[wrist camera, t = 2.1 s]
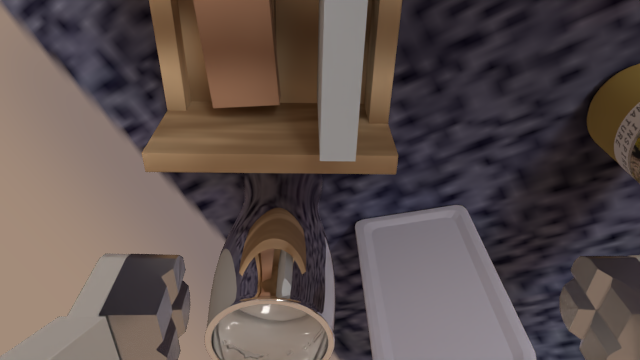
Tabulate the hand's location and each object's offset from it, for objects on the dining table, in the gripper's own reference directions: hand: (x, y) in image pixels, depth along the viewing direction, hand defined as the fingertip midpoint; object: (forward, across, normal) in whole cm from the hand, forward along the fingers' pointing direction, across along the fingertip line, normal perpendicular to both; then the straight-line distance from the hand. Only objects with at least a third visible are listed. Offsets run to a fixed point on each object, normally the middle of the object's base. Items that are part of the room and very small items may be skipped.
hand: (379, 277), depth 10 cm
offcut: (+20, +5, 0) cm, 21 cm away
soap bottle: (+23, -8, +19) cm, 31 cm away
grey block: (+22, 0, 0) cm, 22 cm away
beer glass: (+23, +3, +13) cm, 27 cm away
